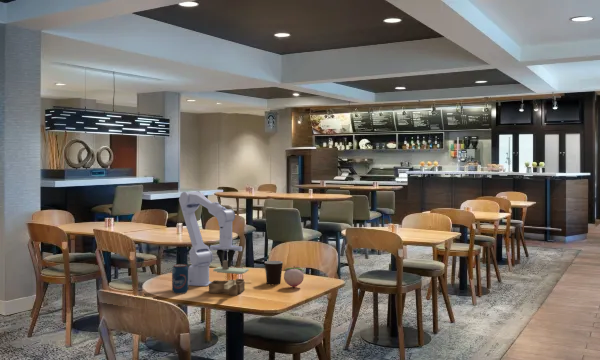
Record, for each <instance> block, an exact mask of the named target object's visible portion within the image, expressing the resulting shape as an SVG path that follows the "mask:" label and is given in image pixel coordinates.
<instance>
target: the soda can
mask: <svg viewBox="0 0 600 360" xmlns="http://www.w3.org/2000/svg"><path fill="white" fill-rule="evenodd" d="M188 269H189V267H188V266H187V264H185V263H177V264H173V266H172V268H171V289H172V292H173V293H174V294H176V293H182V294H185V293H187V292H188V290H189V285H188Z"/></svg>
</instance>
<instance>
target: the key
mask: <svg viewBox="0 0 600 360" xmlns="http://www.w3.org/2000/svg"><path fill="white" fill-rule="evenodd" d="M227 281H228V282H227V283H226V284H224V289H229V288H230V287H232V286H233V285H235V284H236V279H228V280H227Z"/></svg>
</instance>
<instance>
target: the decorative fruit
mask: <svg viewBox="0 0 600 360" xmlns="http://www.w3.org/2000/svg"><path fill="white" fill-rule="evenodd" d="M284 271H285V272H284V273H283V279H284V281H285V283H286V284H287V285H288V286H290V287H291V288H296V287H298V286H299V285H301V284H302V283H303V281H304V278H305V277H304V276H305V275H304V272H305V270H304V269H303V268H301V267H286V268H285V269H284Z"/></svg>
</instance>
